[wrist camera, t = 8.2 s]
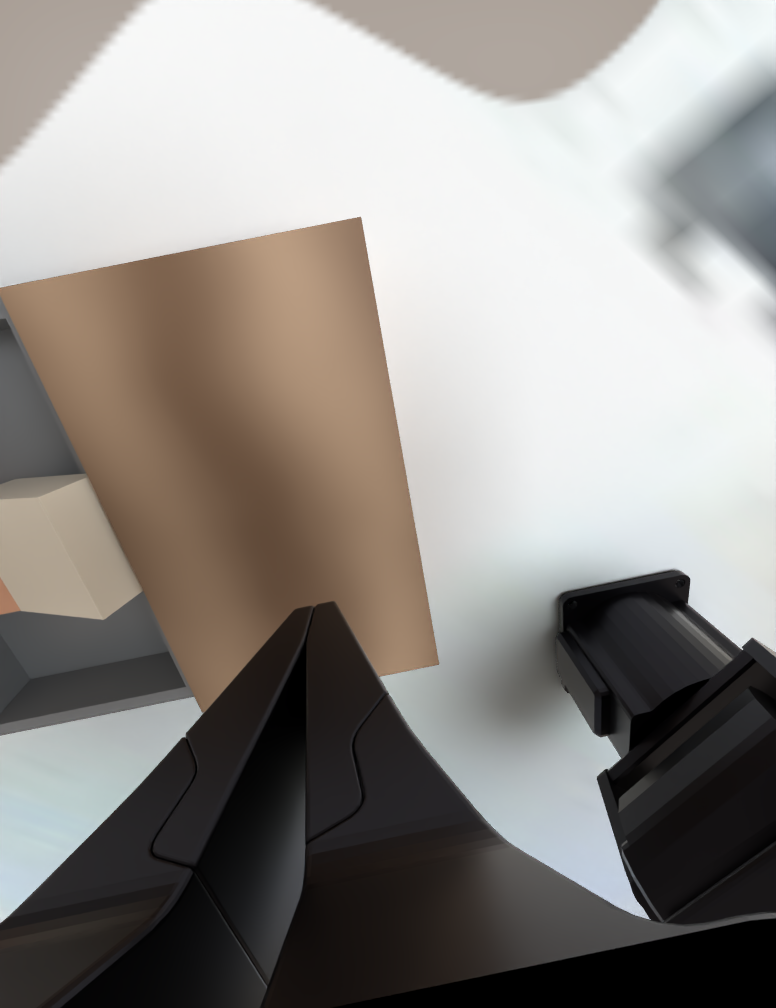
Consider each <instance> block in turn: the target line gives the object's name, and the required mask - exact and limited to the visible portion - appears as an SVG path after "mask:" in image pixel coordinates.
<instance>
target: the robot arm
mask: <svg viewBox="0 0 776 1008" xmlns="http://www.w3.org/2000/svg"><path fill="white" fill-rule="evenodd" d="M678 580H679V581H678ZM677 581H678V582H677ZM676 582H677V583H676ZM689 588H690V578H689V577H688V576H687V575H686V574H684V573H683V572H681V571H672V572H667V573H662V574H657V575H652V576H647V577H643V578H638V579H633V580H628V581H623V582H618V583H613V584H608V585H603V586H598V587H593V588H588V589H583V590H578V591H573V592H568V593H566V594H564V595H563V596H562V597H561V598H560V600H559V618H560V632H558V634H557V636H556V654H557V672H558V674H559V676H560V677H561V683H562V686H563V688H564V689H565V691H566V692H567V693H570V694H571V696H572V698H573V699H574V701H575V703H576V704H577V706H578V708H579V710H580V711H581V713H582V715H583V716H584V718H585V720H586V721H587V723H588V725H589V726H590V728H591V730H592V732H593V733H594V734H596V735H597V736H599V737H604V736H608V738H609V739H610V741H611V743H612V744H613V746H614V747H615V749H616V751H617V752H618V754H619V756H620V757H621V759H620V760H619V761H618V762H617V763H616V764H614V765H613V766H612V767H611V768H610V769H609V770H608V769H605V770H604V771H603V772H602V773H601V774H599V775H598V776H597V781H598V784H599V787H600V791H601V794H602V797H603V800H604V804H605V807H606V810H607V813H608V817H609V820H610V823H611V826H612V830H613V833H614V836H615V840H616V843H617V846H618V849H619V853H620V856H621V859H622V862H623V866H624V869H625V872H626V874H627V877H628V880H629V882H630V885H631V888H632V891H633V894H634V896H635V898H636V900H637V901H638V902H639V904H640V905H641V906H642V907H643V908H644V910H645V912H646V913H647V915H648V917H649V918H650V919H651V920H649V919H645V918H642V917H638V916H635V915H633V914H631V913H629V912H627V911H624V910H622V909H620V908H618V907H616V906H614V905H613V904H611V903H609V902H608V901H606V900H604V899H603V898H601V897H599V896H598V895H596V894H594V893H592V892H591V891H589V890H587V889H586V888H584V887H582V886H581V885H579V884H577V883H576V882H574V881H572V880H571V879H569V878H567V877H565V876H564V875H562V874H560V873H559V872H557V871H555V870H554V869H552V868H550V867H549V866H547V865H545V864H544V863H542V862H540V861H538V860H537V859H535V858H533V857H532V856H530V855H528V854H527V853H525V852H523V851H522V850H520V849H518V848H517V847H515V846H514V845H512V844H511V843H509V842H508V841H507V840H505V839H504V838H503V837H502V836H501V835H500V834H499V833H498V832H497V831H496V830H495V829H494V828H493V827H492V826H491V825H490V824H489V823H488V822H487V821H486V820H485V819H484V818H483V817H482V815H481V814H480V813H479V812H478V811H477V810H476V809H475V807H474V806H473V805H472V804H471V803H470V801H469V800H468V799H467V798H466V797H465V795H464V794H463V793H462V792H461V791H460V789H459V788H458V787H457V786H456V785H455V783H454V782H453V781H452V780H451V779H450V777H449V776H448V775H447V774H446V773H445V771H444V770H443V769H442V768H441V767H440V765H439V764H438V763H437V762H436V761H435V759H434V758H433V757H432V756H431V755H430V753H429V752H428V751H427V750H426V748H425V747H424V746H423V744H422V743H421V742H420V741H419V739H418V738H417V737H416V735H415V734H414V733H413V731H412V730H411V729H410V727H409V725H408V724H407V722H406V721H405V719H404V718H403V716H402V715H401V713H400V711H399V710H398V708H397V707H396V705H395V703H394V701H393V700H392V698H391V696H390V695H389V693H388V691H387V690H386V688H385V686H384V684H383V683H382V681H381V679H380V678H379V676H378V674H377V672H376V671H375V669H374V667H373V665H372V664H371V662H370V660H369V659H368V657H367V655H366V653H365V652H364V650H363V648H362V646H361V645H360V643H359V641H358V639H357V638H356V636H355V634H354V633H353V631H352V629H351V627H350V626H349V624H348V622H347V620H346V619H345V617H344V615H343V614H342V612H341V610H340V608H339V607H338V605H337V603H336V602H335V601H330V602H325V603H320V604H317V605H316V606H313V605H311V606H306V607H301V608H297V609H295V610H294V611H293V612H292V613H291V614H290V615H289V616H288V617H287V618H286V620H285V621H284V622H283V623H282V624H281V625H280V626H279V628H278V629H277V630H276V631H275V632H274V633H273V634H272V636H271V637H270V638H269V639H268V640H267V641H266V642H265V644H264V645H263V646H262V647H261V648H260V649H259V650H258V652H257V653H256V654H255V655H254V656H253V657H252V658H251V660H250V661H249V662H248V663H247V664H246V665H245V666H244V668H243V669H242V670H241V671H240V672H239V673H238V675H237V676H236V677H235V678H234V679H233V680H232V681H231V683H230V684H229V685H228V686H227V687H226V688H225V689H224V691H223V692H222V693H221V694H220V695H219V696H218V697H217V699H216V700H215V701H214V702H213V703H212V704H211V705H210V707H209V708H208V709H207V710H206V711H205V712H204V713H203V715H202V716H201V717H200V718H199V719H198V720H197V721H196V723H195V724H194V725H193V726H192V727H191V728H190V729H189V731H188V732H187V733H186V738H185V737H183V738H181V740H180V741H179V742H178V743H177V744H176V745H175V746H174V748H173V749H172V750H171V751H170V752H169V753H168V754H167V756H166V757H165V758H164V759H163V760H162V761H161V762H160V763H159V764H158V766H157V767H156V768H155V769H154V770H153V771H152V772H151V773H150V774H149V775H148V777H147V778H146V779H145V780H144V781H143V782H142V783H141V784H140V785H139V786H138V787H137V788H136V789H135V790H134V791H133V793H132V794H131V795H130V796H129V797H128V798H127V799H126V800H125V801H124V802H123V803H122V804H121V805H120V806H119V807H118V808H117V809H116V810H115V811H114V812H113V813H112V814H111V815H110V816H109V817H108V818H107V819H106V820H105V821H104V822H103V823H102V824H101V825H100V826H99V827H98V828H97V829H96V830H95V831H94V832H93V833H92V834H91V835H90V836H89V837H88V838H87V839H86V840H85V841H84V842H83V843H82V844H81V845H80V846H79V847H78V848H77V849H76V850H75V851H74V852H73V853H72V854H71V855H70V856H69V857H68V858H67V859H66V860H65V861H64V862H63V863H62V864H61V865H60V866H59V867H58V868H57V869H56V870H55V871H54V872H53V873H52V874H51V875H50V876H49V877H48V878H47V879H46V880H45V881H44V882H43V883H42V884H41V885H40V886H39V887H38V888H37V889H36V890H35V891H34V892H33V893H32V894H31V895H30V896H29V897H28V898H27V899H26V900H25V901H24V902H23V903H22V904H21V905H20V906H19V907H18V908H17V909H16V910H15V911H14V912H13V913H12V914H11V915H9V916H8V917H7V918H6V919H5V920H4V921H3V922H2V923H0V1008H776V653H775V652H774V651H772V650H771V649H769V648H768V647H766V646H765V645H763V644H762V643H760V642H759V641H757V640H756V639H754V638H751V639H750V640H749V641H748V642H747V643H746V644H745V645H744V646H742V648H743V650H742V649H740V648H739V647H738V646H737V645H736V644H734V643H733V642H732V641H731V640H730V639H728V638H727V637H726V636H725V635H724V634H722V633H721V632H720V631H719V630H718V629H717V628H715V627H714V626H713V625H712V624H711V623H709V622H708V621H707V620H706V619H705V618H703V617H702V616H701V615H700V614H699V613H698V612H696V611H695V610H694V609H693V608H692V607H690V606H689V605H688V597H689ZM571 601H573V602H572V603H571V604H569V605H568V603H569V602H571Z"/></svg>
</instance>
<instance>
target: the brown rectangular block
mask: <svg viewBox="0 0 776 1008" xmlns="http://www.w3.org/2000/svg"><path fill="white" fill-rule="evenodd" d="M0 297H1V299H2V301H3V303H4V305H5V307H6V309H7V311H8V313H9V315H10V317H11V319H12V321H13V323H14V325H15V327H16V330H17V332H18V334H19V336H20V338H21V340H22V342H23V344H24V346H25V348H26V350H27V352H28V354H29V356H30V358H31V360H32V362H33V365H34V367H35V369H36V371H37V373H38V375H39V377H40V379H41V381H42V383H43V385H44V387H45V389H46V391H47V393H48V395H49V398H50V400H51V402H52V404H53V406H54V408H55V410H56V412H57V414H58V416H59V418H60V420H61V422H62V424H63V426H64V428H65V431H66V433H67V435H68V437H69V439H70V441H71V443H72V445H73V447H74V449H75V451H76V453H77V455H78V457H79V459H80V461H81V464H82V466H83V468H84V470H85V472H86V474H87V476H88V478H89V480H90V482H91V484H92V486H93V488H94V490H95V492H96V494H97V497H98V499H99V501H100V503H101V505H102V507H103V509H104V511H105V513H106V515H107V517H108V519H109V521H110V523H111V525H112V527H113V530H114V532H115V534H116V536H117V538H118V540H119V542H120V544H121V546H122V548H123V550H124V552H125V554H126V556H127V558H128V560H129V562H130V565H131V567H132V569H133V571H134V573H135V575H136V577H137V579H138V581H139V583H140V585H141V587H142V589H143V591H144V593H145V595H146V598H147V600H148V602H149V604H150V606H151V608H152V610H153V612H154V614H155V616H156V618H157V620H158V622H159V624H160V626H161V628H162V631H163V633H164V635H165V637H166V639H167V641H168V643H169V645H170V647H171V649H172V651H173V653H174V655H175V657H176V659H177V661H178V664H179V666H180V668H181V670H182V672H183V674H184V676H185V678H186V680H187V682H188V684H189V686H190V688H191V690H192V692H193V694H194V697H195V699H196V701H197V703H198V705H199V707H200V709H201V711H202V712H205V711H206V710H207V709H208V708H209V707H210V705H211V704H212V703H213V702H214V701H215V700H216V699H217V697H218V696H219V695H220V694H221V693H222V692H223V691H224V689H225V688H226V687H227V686H228V685H229V684H230V683H231V681H232V680H233V679H234V678H235V677H236V676H237V675H238V673H239V672H240V671H241V670H242V669H243V668H244V666H245V665H246V664H247V663H248V662H249V661H250V660H251V658H252V657H253V656H254V655H255V654H256V653H257V652H258V650H259V649H260V648H261V647H262V646H263V645H264V644H265V642H266V641H267V640H268V639H269V638H270V637H271V636H272V634H273V633H274V632H275V631H276V630H277V629H278V628H279V626H280V625H281V624H282V623H283V622H284V621H285V620H286V618H287V617H288V616H289V615H290V614H291V613H292V612H293V611H294V610H295V609H297V608H301V607H306V606H311V605H313V606H316V605H317V604H320V603H325V602H330V601H335V602H336V603H337V605H338V607H339V608H340V610H341V612H342V614H343V615H344V617H345V619H346V620H347V622H348V624H349V626H350V627H351V629H352V631H353V633H354V634H355V636H356V638H357V639H358V641H359V643H360V645H361V646H362V648H363V650H364V652H365V653H366V655H367V657H368V659H369V660H370V662H371V664H372V665H373V667H374V669H375V671H376V672H377V674H378V676H379V677H380V676H385V675H390V674H395V673H400V672H405V671H409V670H414V669H419V668H424V667H429V666H434V665H439V660H438V655H437V649H436V643H435V637H434V632H433V626H432V620H431V614H430V609H429V603H428V597H427V592H426V586H425V580H424V574H423V569H422V563H421V557H420V552H419V546H418V540H417V534H416V529H415V523H414V517H413V511H412V506H411V500H410V494H409V489H408V483H407V477H406V471H405V466H404V460H403V454H402V449H401V443H400V437H399V431H398V426H397V420H396V414H395V408H394V403H393V397H392V391H391V386H390V380H389V374H388V368H387V363H386V357H385V351H384V346H383V340H382V334H381V328H380V323H379V317H378V311H377V305H376V300H375V294H374V288H373V283H372V277H371V271H370V265H369V260H368V254H367V248H366V243H365V237H364V231H363V225H362V220H361V217H357V218H352V219H347V220H342V221H337V222H332V223H327V224H322V225H317V226H312V227H307V228H302V229H296V230H291V231H286V232H281V233H276V234H271V235H266V236H261V237H256V238H251V239H246V240H241V241H236V242H230V243H225V244H220V245H215V246H210V247H205V248H200V249H195V250H190V251H185V252H180V253H175V254H170V255H164V256H159V257H154V258H149V259H144V260H139V261H134V262H129V263H124V264H119V265H114V266H109V267H103V268H98V269H93V270H88V271H83V272H78V273H73V274H68V275H63V276H58V277H53V278H48V279H43V280H37V281H32V282H27V283H22V284H17V285H12V286H7V287H2V288H0Z"/></svg>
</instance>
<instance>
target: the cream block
mask: <svg viewBox="0 0 776 1008" xmlns="http://www.w3.org/2000/svg"><path fill="white" fill-rule="evenodd" d="M0 578H1V579H2V581H3V583H4V584H5V586H6V587H7V589H8V591H9V592H10V594H11V595H12V597H13V599H14V600H15V602H16V603H17V605H18V607H19V608H20V610H21V611H26V612H35V613H45V614H54V615H63V616H73V617H82V618H92V619H101V620H104V619H106V618H107V617H108V616H110V615H111V614H112V613H114V612H115V611H116V610H118V609H119V608H120V607H122V606H123V605H125V604H126V603H127V602H129V601H130V600H131V599H133V598H134V597H135V596H137V595H138V594H139V593H141V592H142V591H143V589H142V587H141V585H140V583H139V581H138V579H137V577H136V575H135V573H134V571H133V569H132V567H131V565H130V562H129V560H128V558H127V556H126V554H125V552H124V550H123V548H122V546H121V544H120V542H119V540H118V538H117V536H116V534H115V532H114V530H113V527H112V525H111V523H110V521H109V519H108V517H107V515H106V513H105V511H104V509H103V507H102V505H101V503H100V501H99V499H98V497H97V494H96V492H95V490H94V488H93V486H92V484H91V482H90V480H89V478H88V476H87V474H73V475H60V476H47V477H34V478H21V479H14V480H11V481H9V482H6V483H3V484H0Z"/></svg>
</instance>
